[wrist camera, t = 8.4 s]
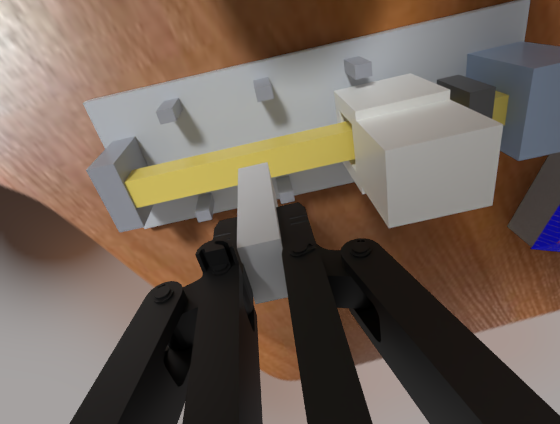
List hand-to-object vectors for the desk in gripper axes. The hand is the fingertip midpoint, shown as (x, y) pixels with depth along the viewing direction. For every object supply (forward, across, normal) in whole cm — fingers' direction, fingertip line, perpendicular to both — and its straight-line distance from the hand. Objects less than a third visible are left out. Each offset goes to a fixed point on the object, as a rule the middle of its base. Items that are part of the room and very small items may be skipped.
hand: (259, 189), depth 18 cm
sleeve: (+7, +8, 0) cm, 11 cm away
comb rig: (+9, +4, 0) cm, 10 cm away
